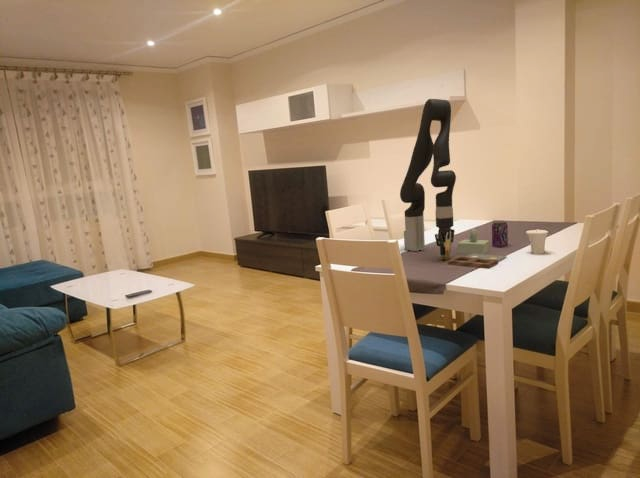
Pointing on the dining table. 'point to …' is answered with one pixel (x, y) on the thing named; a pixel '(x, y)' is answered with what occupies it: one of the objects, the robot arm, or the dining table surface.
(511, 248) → the dining table surface
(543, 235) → the cup
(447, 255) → the brass pin
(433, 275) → the dining table surface
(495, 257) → the grey mat
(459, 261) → the walnut frame
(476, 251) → the green cover
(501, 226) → the beverage can
